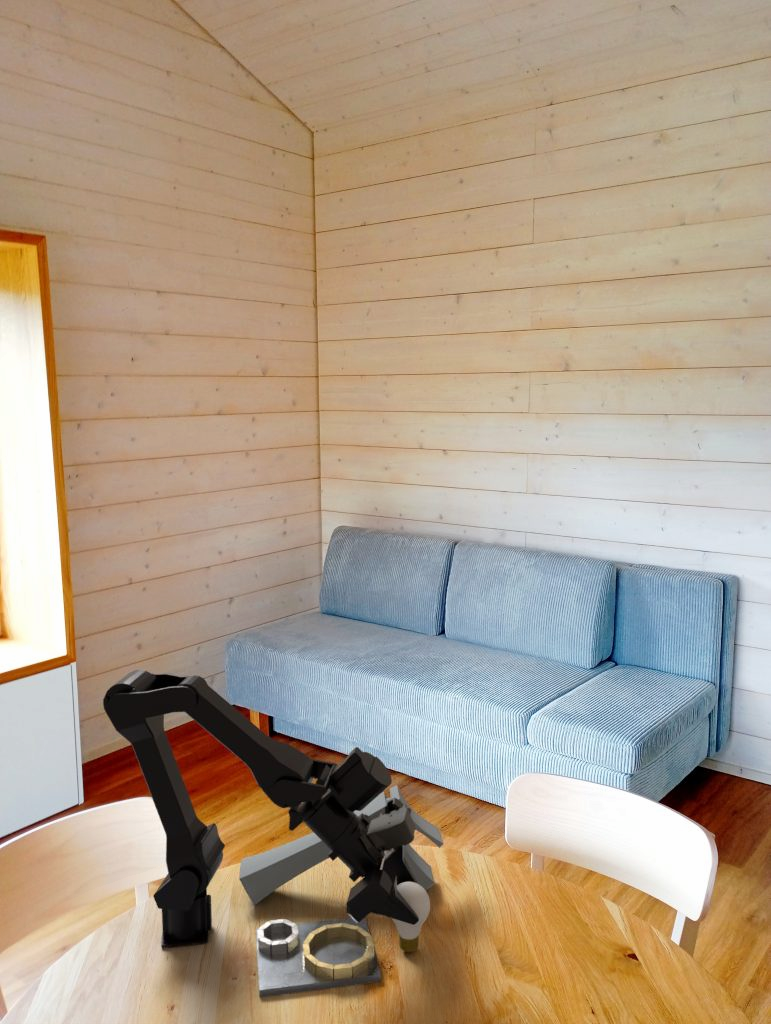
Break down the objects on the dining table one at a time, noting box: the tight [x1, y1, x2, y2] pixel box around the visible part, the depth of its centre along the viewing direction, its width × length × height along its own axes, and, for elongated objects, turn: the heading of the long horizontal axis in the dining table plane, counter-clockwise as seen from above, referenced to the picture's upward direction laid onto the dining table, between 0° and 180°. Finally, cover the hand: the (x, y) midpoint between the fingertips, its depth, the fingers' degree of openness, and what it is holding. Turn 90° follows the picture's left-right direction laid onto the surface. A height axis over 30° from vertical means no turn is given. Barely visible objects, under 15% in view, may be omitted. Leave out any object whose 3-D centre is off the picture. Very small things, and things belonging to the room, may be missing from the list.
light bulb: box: [391, 882, 431, 954], centre depth 119 cm, size 6×6×10 cm
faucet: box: [238, 784, 444, 906], centre depth 134 cm, size 6×17×30 cm
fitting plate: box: [255, 917, 382, 998], centre depth 118 cm, size 16×13×2 cm
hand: (418, 908), depth 119 cm, fingers closed on light bulb, 6 cm apart
